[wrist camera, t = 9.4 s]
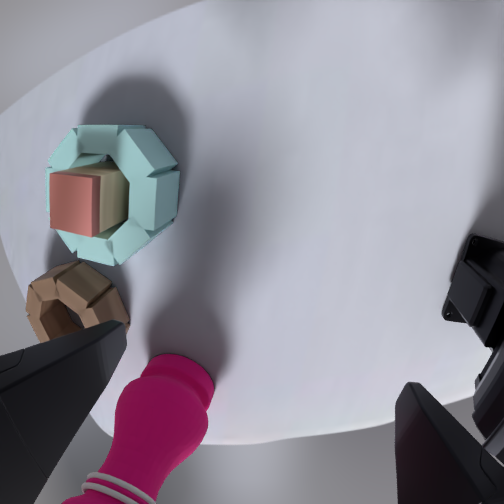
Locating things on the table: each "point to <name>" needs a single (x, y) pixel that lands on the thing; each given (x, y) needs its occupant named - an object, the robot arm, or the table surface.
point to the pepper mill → (152, 432)
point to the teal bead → (140, 193)
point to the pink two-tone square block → (88, 198)
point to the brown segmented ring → (72, 300)
